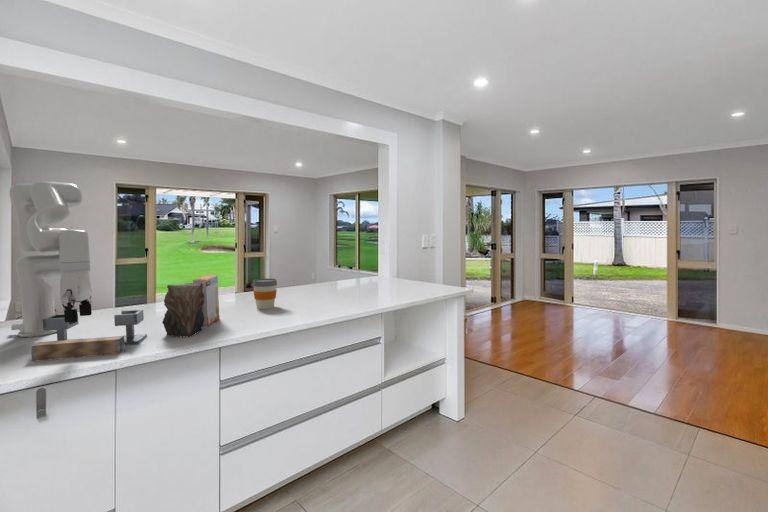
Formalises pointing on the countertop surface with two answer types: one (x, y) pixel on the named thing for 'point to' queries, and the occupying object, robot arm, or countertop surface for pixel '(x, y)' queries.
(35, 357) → the rail
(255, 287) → the reusable coffee cup
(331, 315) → the countertop surface
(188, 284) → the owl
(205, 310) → the cracker box
